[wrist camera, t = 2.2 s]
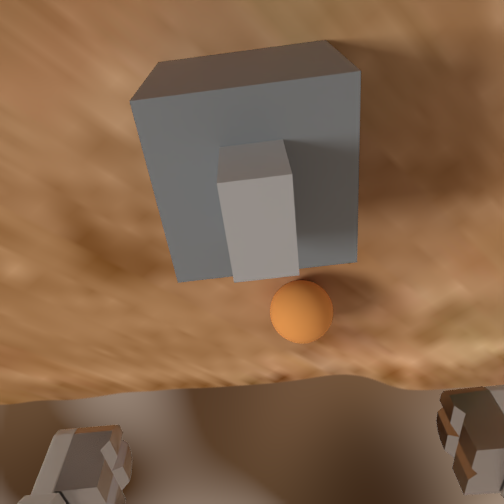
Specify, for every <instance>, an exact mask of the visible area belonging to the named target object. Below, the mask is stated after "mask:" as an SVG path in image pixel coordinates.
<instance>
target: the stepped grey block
mask: <svg viewBox="0 0 504 504" xmlns="http://www.w3.org/2000/svg"><path fill="white" fill-rule="evenodd" d="M360 94H361V71H360V70H359V69H358V68H357V67H356V66H355V65H354V64H352V63H351V62H350V61H349V60H348V59H347V58H346V57H344V56H343V55H342V54H341V53H340V52H339V51H338V50H336V49H335V48H334V47H333V46H332V45H331V44H330V43H328V42H327V41H326V40H322V41H315V42H307V43H300V44H292V45H285V46H277V47H270V48H262V49H255V50H247V51H240V52H232V53H225V54H217V55H210V56H202V57H195V58H187V59H180V60H172V61H165V62H158V63H157V65H156V66H155V67H154V69H153V70H152V72H151V73H150V74H149V76H148V77H147V78H146V80H145V81H144V82H143V84H142V85H141V86H140V88H139V89H138V90H137V92H136V93H135V94H134V96H133V97H132V98H131V100H130V105H131V108H132V112H133V116H134V120H135V123H136V127H137V131H138V135H139V138H140V142H141V146H142V150H143V153H144V157H145V161H146V165H147V168H148V172H149V176H150V179H151V183H152V187H153V191H154V194H155V198H156V202H157V206H158V209H159V213H160V217H161V221H162V224H163V228H164V232H165V236H166V239H167V243H168V247H169V250H170V254H171V258H172V262H173V265H174V269H175V273H176V277H177V280H178V282H187V281H195V280H204V279H213V278H222V277H230V276H233V278H234V283H235V282H244V281H253V280H261V279H270V278H279V277H288V276H297V275H299V269H300V268H309V267H318V266H327V265H335V264H344V263H353V262H357V237H358V189H359V142H360Z"/></svg>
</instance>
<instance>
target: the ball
mask: <svg viewBox="0 0 504 504" xmlns="http://www.w3.org/2000/svg"><path fill="white" fill-rule="evenodd" d="M270 316H271V321H272V323H273V326H274V327H275V329H276V330H277V332H278V333H279V334H280V335H281V336H282V337H284V338H285V339H287V340H289V341H291V342H295V343H310V342H313V341H315V340H317V339H319V338H320V337H322V336H323V335H324V334H325V333H326V332H327V330H328V329H329V327H330V325H331V323H332V319H333V306H332V302H331V299H330V297H329V296H328V294H327V293H326V291H325V290H324V289H323V288H322V287H320V286H319V285H317V284H315V283H313V282H310V281H306V280H296V281H292V282H289V283H287V284H285V285H284V286H282V287H281V288H280V289H279V290H278V291H277V292H276V294H275V295H274V297H273V299H272V302H271V306H270Z"/></svg>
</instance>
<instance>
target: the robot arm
mask: <svg viewBox="0 0 504 504" xmlns="http://www.w3.org/2000/svg"><path fill="white" fill-rule="evenodd" d="M440 402H441V404H442V407H443V408H442V409H440V410H439V411H438V412H437V420H436V421H437V430H438V434H439V437H440V441H441V443H442V445H443V448H444V450H445V451H446V452H447V453H449V454H450V455H451V456H452V457H453V458H454V462H453V467H452V469H453V471H454V473H455V476H456V478H457V480H458V482H459V485H460V487H461V489H462V491H463V494H464V495H473V494H489V493H501V496H503V497H504V385H496V386H488V387H483V386H481V387H473V388H464V389H456V390H448V391H443V392H442V393H441V396H440ZM122 435H123V431H122V429H121V427H120V425H110V426H98V427H86V428H73V429H63V430H58V432H57V433H56V434H55V435H54V437H53V439H52V442H51V444H50V447H49V449H48V452H47V454H46V457H45V460H44V462H43V465H42V467H41V470H40V472H39V475H38V478H37V480H36V483H35V485H34V488H33V490H32V493H31V495H27V496H24V497H23V498H22V499H21V500H20V501H19V502H18V503H17V504H125V500H126V498H125V496H124V494H123V492H122V490H123V488H124V487H125V486H126V485H127V484H128V482H129V481H130V476H131V471H132V454H131V449H130V446H129V444H128V443H127V442H126V441H124V440H122Z"/></svg>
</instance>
